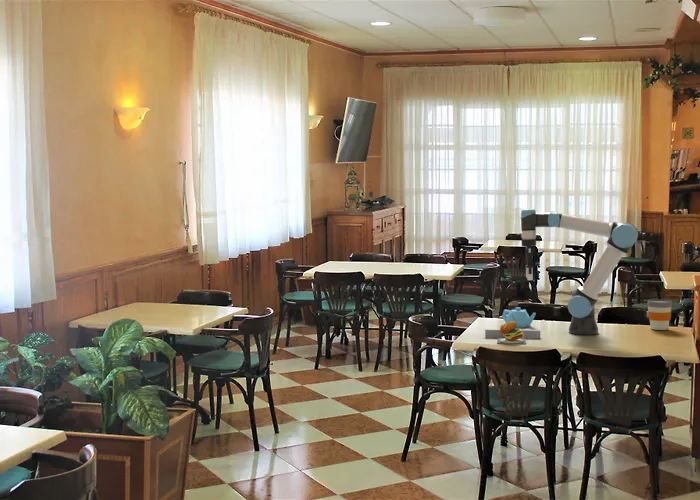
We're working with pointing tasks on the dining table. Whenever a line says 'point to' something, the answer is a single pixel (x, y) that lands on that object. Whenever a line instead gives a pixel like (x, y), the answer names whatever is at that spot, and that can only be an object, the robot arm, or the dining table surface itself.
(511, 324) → the cheeseburger
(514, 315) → the teapot
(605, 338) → the dining table surface
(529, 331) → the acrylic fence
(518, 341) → the mat
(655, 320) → the reusable coffee cup
